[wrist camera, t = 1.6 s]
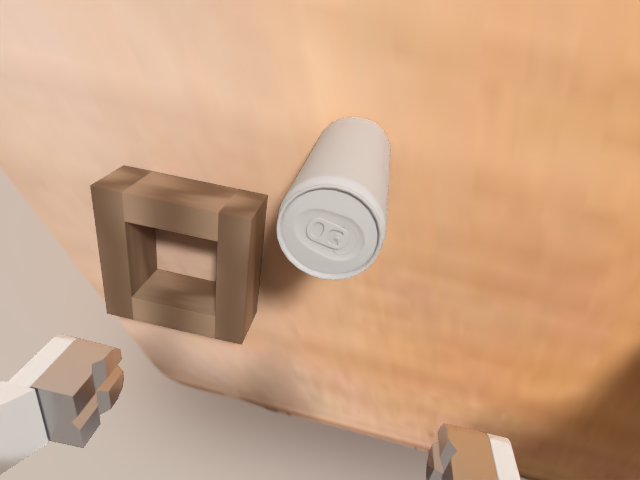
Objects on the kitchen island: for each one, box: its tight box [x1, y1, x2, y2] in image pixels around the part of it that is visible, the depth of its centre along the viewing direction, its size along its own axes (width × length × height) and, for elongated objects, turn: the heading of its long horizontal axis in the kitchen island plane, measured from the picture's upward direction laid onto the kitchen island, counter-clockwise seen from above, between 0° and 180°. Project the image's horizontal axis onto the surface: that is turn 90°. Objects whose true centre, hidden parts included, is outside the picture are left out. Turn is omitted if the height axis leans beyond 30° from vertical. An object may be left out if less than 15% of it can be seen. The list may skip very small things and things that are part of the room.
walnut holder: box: [90, 166, 268, 344], centre depth 33 cm, size 11×11×4 cm
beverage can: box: [276, 117, 391, 280], centre depth 23 cm, size 5×5×12 cm
